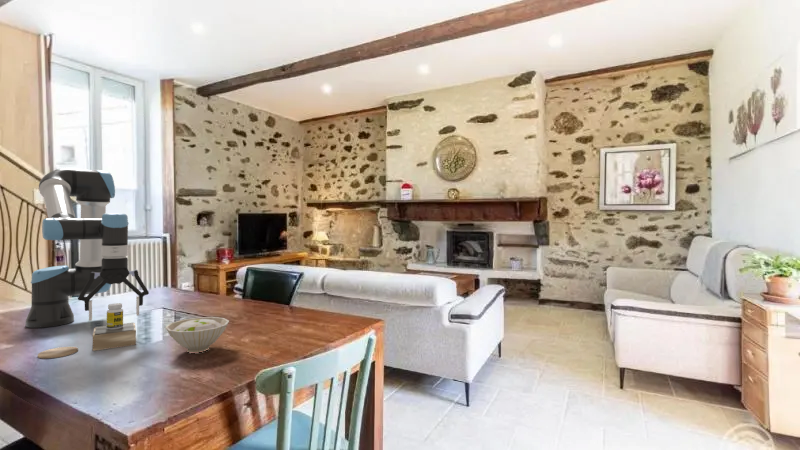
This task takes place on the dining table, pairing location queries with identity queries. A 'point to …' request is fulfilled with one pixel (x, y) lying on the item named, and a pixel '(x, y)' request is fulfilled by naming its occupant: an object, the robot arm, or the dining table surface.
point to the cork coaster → (57, 352)
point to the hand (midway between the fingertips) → (114, 317)
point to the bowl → (197, 332)
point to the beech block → (114, 337)
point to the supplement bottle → (115, 316)
